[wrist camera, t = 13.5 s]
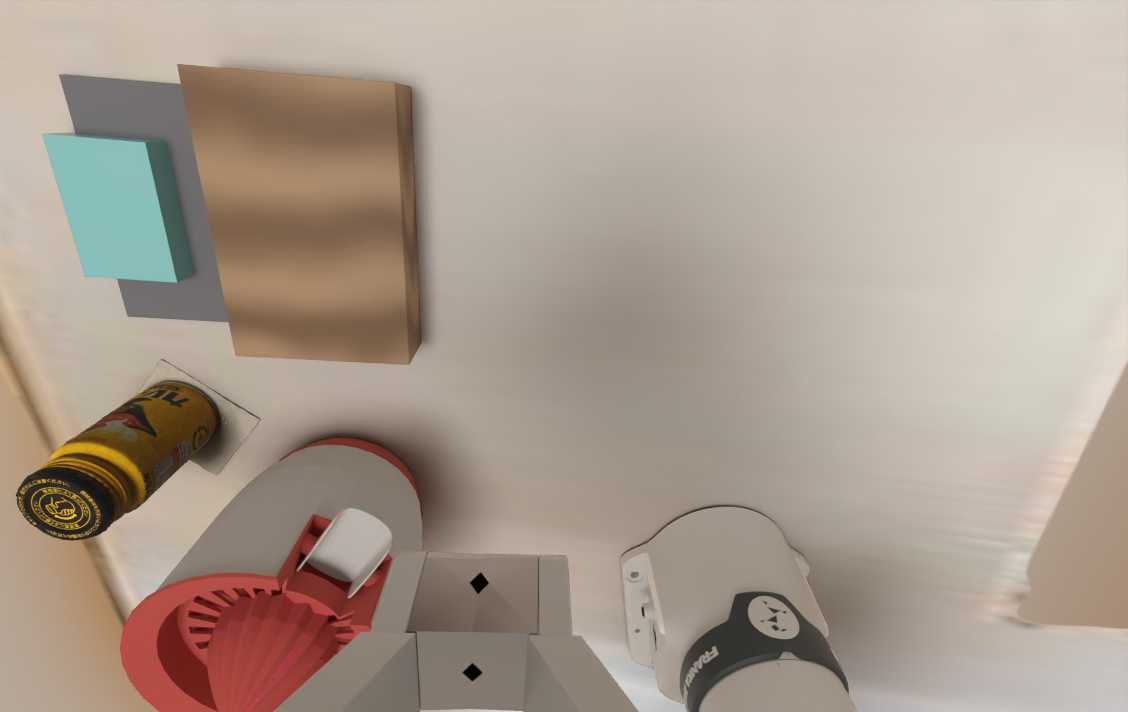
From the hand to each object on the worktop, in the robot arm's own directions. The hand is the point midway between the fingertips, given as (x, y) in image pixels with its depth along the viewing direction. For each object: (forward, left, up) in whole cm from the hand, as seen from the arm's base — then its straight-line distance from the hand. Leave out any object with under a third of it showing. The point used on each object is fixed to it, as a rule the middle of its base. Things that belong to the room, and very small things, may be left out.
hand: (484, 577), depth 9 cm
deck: (0, +14, -31) cm, 34 cm away
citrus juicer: (-23, +14, -31) cm, 41 cm away
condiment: (-17, +27, -31) cm, 45 cm away
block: (0, +27, -29) cm, 39 cm away
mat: (0, +25, -31) cm, 40 cm away
